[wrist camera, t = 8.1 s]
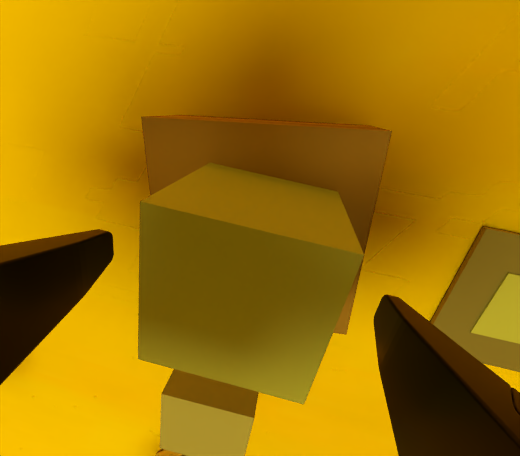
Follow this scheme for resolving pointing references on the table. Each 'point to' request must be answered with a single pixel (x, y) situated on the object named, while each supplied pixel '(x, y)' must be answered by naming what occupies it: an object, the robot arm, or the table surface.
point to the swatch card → (486, 301)
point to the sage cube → (243, 278)
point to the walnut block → (276, 160)
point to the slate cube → (205, 416)
